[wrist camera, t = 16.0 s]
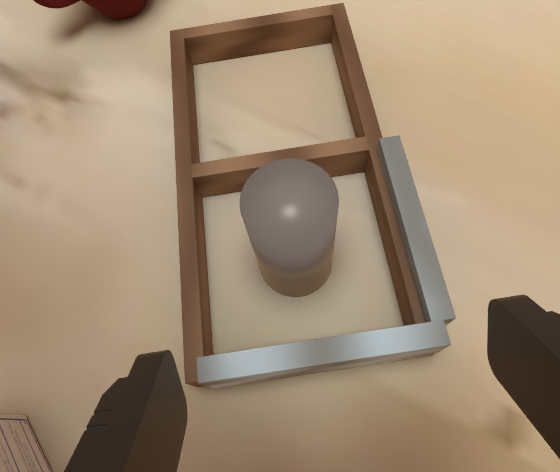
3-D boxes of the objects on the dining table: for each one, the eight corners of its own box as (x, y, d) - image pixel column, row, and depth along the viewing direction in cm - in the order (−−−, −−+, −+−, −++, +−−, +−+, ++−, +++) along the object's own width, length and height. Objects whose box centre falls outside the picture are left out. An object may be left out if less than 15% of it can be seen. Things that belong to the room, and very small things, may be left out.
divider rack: (197, 390, 24) (179, 386, 20) (179, 57, 34) (165, 19, 31) (443, 353, 23) (463, 342, 20) (350, 29, 34) (354, -12, 30)
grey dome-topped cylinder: (265, 302, 25) (245, 253, 18) (256, 235, 27) (234, 166, 20) (337, 290, 25) (348, 236, 18) (324, 224, 27) (328, 151, 20)
